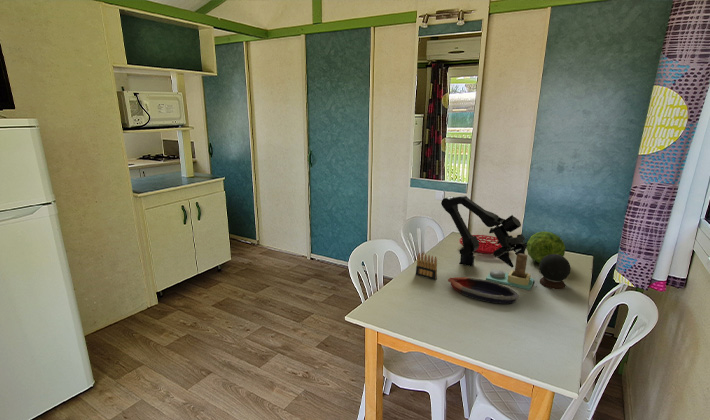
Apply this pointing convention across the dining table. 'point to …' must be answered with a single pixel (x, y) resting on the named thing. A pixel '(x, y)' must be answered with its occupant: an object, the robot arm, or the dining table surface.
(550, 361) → the dining table surface
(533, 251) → the lettuce
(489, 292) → the dish
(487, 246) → the bowl
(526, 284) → the carrier plate
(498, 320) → the dining table surface
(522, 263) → the walnut dowel
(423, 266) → the ammunition clip
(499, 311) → the dining table surface
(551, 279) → the black ball on stand
